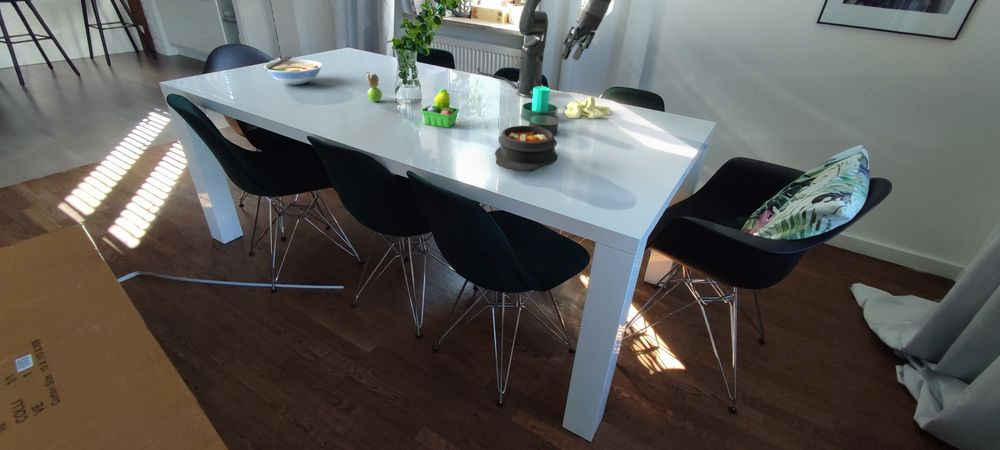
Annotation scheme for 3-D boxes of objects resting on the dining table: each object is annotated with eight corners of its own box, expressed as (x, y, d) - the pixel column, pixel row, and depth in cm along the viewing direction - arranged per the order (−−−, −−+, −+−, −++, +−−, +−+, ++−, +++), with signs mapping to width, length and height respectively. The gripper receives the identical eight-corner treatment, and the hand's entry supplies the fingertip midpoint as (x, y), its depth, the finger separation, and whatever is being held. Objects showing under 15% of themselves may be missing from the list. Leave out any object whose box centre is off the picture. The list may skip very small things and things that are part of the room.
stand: (521, 128, 166) (522, 117, 164) (546, 124, 171) (547, 113, 169) (538, 138, 159) (539, 126, 157) (564, 134, 163) (565, 122, 161)
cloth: (572, 101, 199) (574, 87, 196) (616, 109, 193) (618, 94, 189) (554, 115, 181) (556, 99, 178) (601, 124, 175) (604, 107, 172)
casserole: (543, 182, 128) (546, 153, 124) (480, 170, 134) (481, 141, 129) (566, 152, 149) (570, 126, 144) (510, 142, 154) (512, 117, 150)
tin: (515, 114, 181) (515, 104, 179) (543, 110, 187) (544, 100, 185) (534, 124, 171) (535, 114, 169) (563, 120, 177) (565, 110, 175)
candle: (536, 119, 175) (539, 86, 169) (528, 114, 180) (530, 82, 174) (550, 117, 178) (553, 85, 172) (541, 113, 182) (544, 81, 176)
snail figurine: (363, 102, 185) (360, 70, 178) (373, 98, 190) (370, 67, 184) (375, 104, 183) (372, 72, 177) (385, 100, 188) (382, 69, 182)
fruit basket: (420, 124, 165) (419, 91, 159) (432, 117, 172) (431, 86, 167) (450, 129, 162) (450, 96, 156) (461, 122, 169) (461, 90, 164)
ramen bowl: (312, 91, 194) (309, 71, 190) (256, 89, 194) (252, 68, 190) (332, 77, 216) (329, 58, 212) (281, 75, 216) (278, 56, 212)
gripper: (593, 8, 159) (570, 54, 168) (574, 4, 148) (550, 53, 157) (611, 19, 157) (586, 64, 166) (592, 15, 146) (567, 64, 154)
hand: (569, 59), depth 161 cm, fingers open, 8 cm apart
